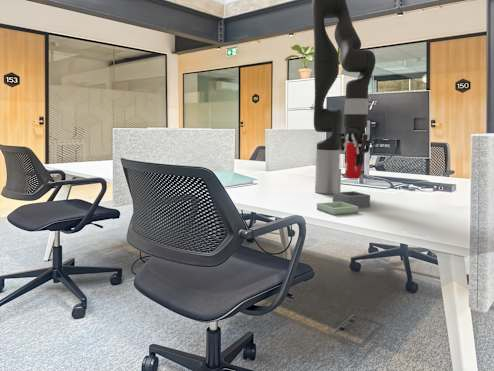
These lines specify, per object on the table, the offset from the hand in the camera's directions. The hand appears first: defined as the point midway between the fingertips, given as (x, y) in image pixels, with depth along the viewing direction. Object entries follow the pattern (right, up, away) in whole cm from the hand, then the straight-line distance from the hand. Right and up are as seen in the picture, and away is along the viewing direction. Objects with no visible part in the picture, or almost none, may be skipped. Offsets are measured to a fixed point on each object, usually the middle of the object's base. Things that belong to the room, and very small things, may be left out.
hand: (353, 164), depth 137 cm
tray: (-7, -15, -8) cm, 18 cm away
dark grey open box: (0, -14, +2) cm, 14 cm away
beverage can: (0, -5, +1) cm, 5 cm away
